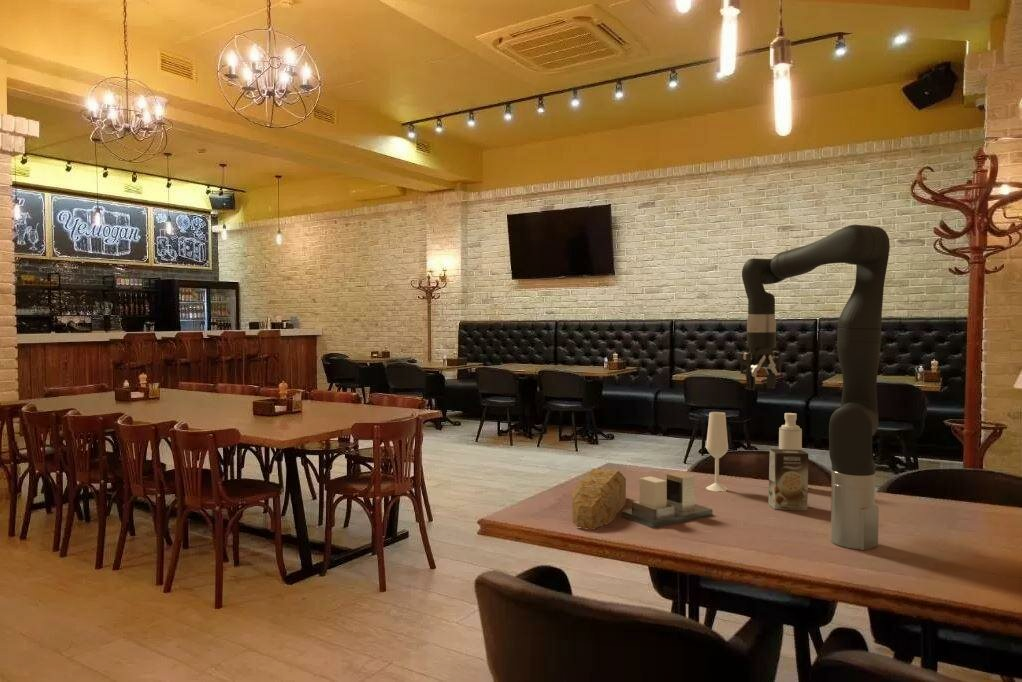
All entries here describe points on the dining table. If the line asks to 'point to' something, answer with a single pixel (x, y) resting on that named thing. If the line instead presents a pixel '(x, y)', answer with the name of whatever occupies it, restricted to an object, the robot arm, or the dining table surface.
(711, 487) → the champagne flute
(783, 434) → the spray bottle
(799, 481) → the coffee box
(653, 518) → the grey block holder
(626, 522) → the dining table surface
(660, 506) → the beige block
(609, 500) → the bread
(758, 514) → the dining table surface
